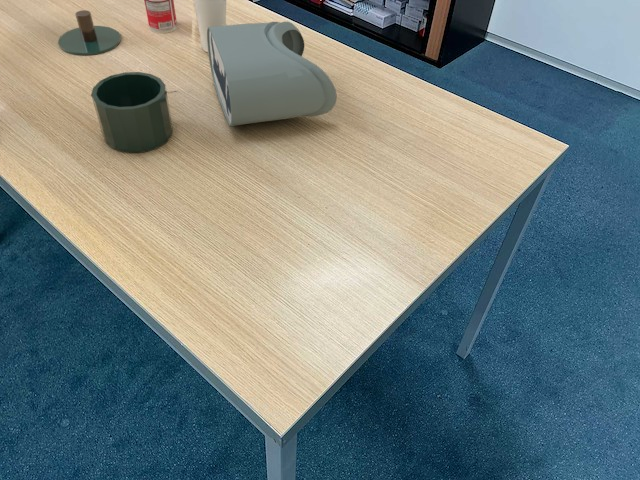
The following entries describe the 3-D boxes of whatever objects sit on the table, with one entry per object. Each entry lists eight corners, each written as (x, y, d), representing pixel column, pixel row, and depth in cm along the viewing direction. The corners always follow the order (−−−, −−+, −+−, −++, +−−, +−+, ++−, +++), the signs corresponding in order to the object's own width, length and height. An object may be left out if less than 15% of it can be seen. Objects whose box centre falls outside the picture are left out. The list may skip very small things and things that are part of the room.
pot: (100, 155, 91) (87, 111, 85) (107, 116, 99) (96, 73, 92) (171, 151, 92) (164, 107, 86) (173, 112, 100) (166, 70, 94)
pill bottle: (161, 21, 126) (153, -30, 118) (183, 27, 124) (176, -23, 116) (143, 31, 122) (134, -20, 114) (166, 38, 120) (157, -14, 112)
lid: (55, 59, 112) (44, 27, 107) (64, 31, 120) (55, 1, 115) (118, 57, 113) (111, 26, 109) (123, 29, 122) (117, 0, 117)
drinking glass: (213, 38, 121) (206, -33, 110) (236, 48, 119) (232, -24, 108) (191, 49, 117) (182, -23, 106) (215, 59, 115) (208, -14, 104)
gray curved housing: (210, 78, 109) (204, 15, 100) (301, 68, 114) (303, 7, 105) (233, 142, 95) (228, 75, 86) (336, 127, 100) (341, 62, 90)
